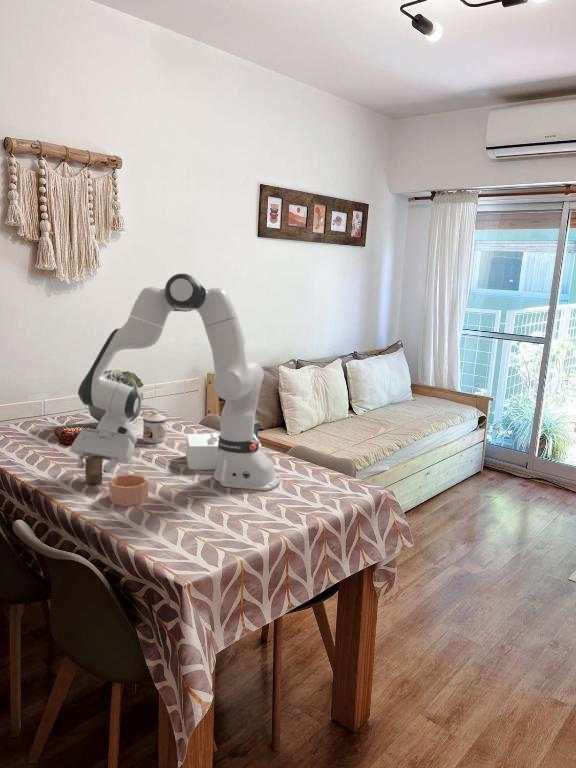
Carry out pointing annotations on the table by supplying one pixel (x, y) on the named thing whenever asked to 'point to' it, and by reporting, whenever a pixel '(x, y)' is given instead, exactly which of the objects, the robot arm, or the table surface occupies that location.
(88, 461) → the peg
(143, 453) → the table surface
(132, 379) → the flower arrangement
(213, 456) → the tissue box
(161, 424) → the teacup with lid
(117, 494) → the cup
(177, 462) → the table surface
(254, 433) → the flask
